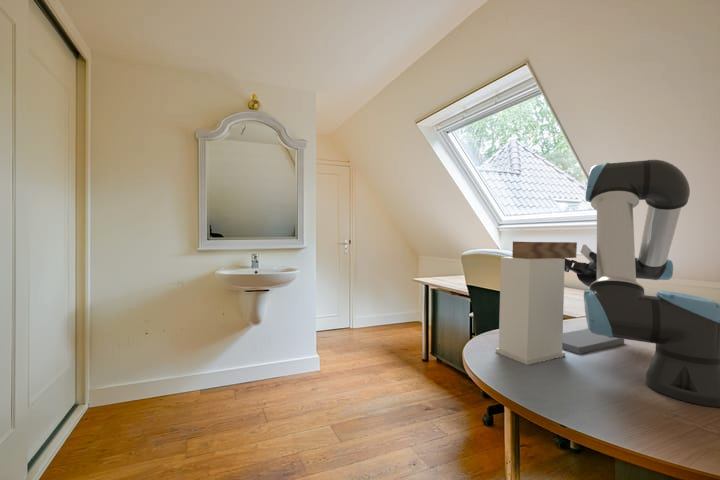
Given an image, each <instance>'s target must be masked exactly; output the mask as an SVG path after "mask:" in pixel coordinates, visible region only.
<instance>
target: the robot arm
mask: <svg viewBox="0 0 720 480" xmlns="http://www.w3.org/2000/svg"><path fill="white" fill-rule="evenodd" d="M585 189H586V190H585V201H586V202H589V203H590V206H591V208H592V209H594V210H595V211H596V252H594V251H593V250H592V249H591V248H589V246H588V245H587V244H582V247H581V249H580V253H581V255H583V256H584V257H585V258H586V260H588V261H589V262H588V263H587V262H581V261H580V262H579V261H576V260H575V259H569V258H561V259H565V269H564V272H566V273H569V272H570V271H572V272H573V273H575V274H576V277H577V279H578V280H579V281H580V282H581V283H582V284H584V285H585V287H586V288H588V289H585V290H584V291H583V304H584V312H585V313H584V314H585V318H586V323H587V324H586V325H587V329H589V330H590V331H591V332H592V333H594V334H597V335H602V336H607V337H609V338H612V337H614V338H621V339H624V340H628V341H629V340H630V341H637V342H644V343H648V344H649V343H650V344H655V352H654V356H653V357H652V359H651V361H650V363H649V366H648V369H647V370H646V371H645V376H644V377H645V378H644V379H645V380H644V382H645V385H647V386H648V387H649V388H650V389H652V390H654V391H655V392H657V393H661V394H662V395H664V396H667V397H671V398H673V399H676V400H680V401H683V402H686V403H689V404H690V403H691V404H695V405H700V406H707V407H712V408H713V407H714V408H720V302H718V301H716V300H714V299H708V298H707V297H701V296H697V295H696V296H695V295H693V294H686V293H681V292H676V291H667V290H658V291H657V292H656V293H655V295H647V294H646V295H645V288H644V286H642V285H641V284H640V283H638V282H637V279H640V280H641V279H642V280H652V281H669V280H671V279H672V277H673V273H674V264H673V261H672V260H671V259H670V258H668V257H669V254H670V249H671V245H672V244H673V243H672V242H673V239H674V235H675V232H676V229H677V224H678V221H679V217H680V214H681V210H682V208H684V207H685V206H686V205H687V204H688V202H689V198H690V194H691V193H690V191H691V189H690V184H689V181H688V179H687V177H686V176H685V174H684V172H682V170H681V169H679V167H677V166H676V165H674V164H672V163H670V162H668V161H665V160H660V159H647V160H635V161H634V160H633V161H622V162H612V163H610V162H606V163H600V164H595V165H593V166H592V167H591V168H590V170H589V174H588V179H587V183H586V188H585ZM640 201H645V202H644V203H646V205H647V209H646V210H647V211H646V215H645V216H646V217H645V220H644V227H643V231H642V235H641V237H642V238H641V243H640V247H639V248H640V249H639V253H638V257H636V255H635V254H636V250H635V249H636V248H635V228H634V227H635V225H634V208H635V207H637V206H638V205H639V204H640Z"/></svg>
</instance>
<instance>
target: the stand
mask: <svg viewBox="0 0 720 480" xmlns="http://www.w3.org/2000/svg"><path fill="white" fill-rule="evenodd" d="M564 269H565V259H561V258H542V259H523V258H512V256H501V257H500V281H499V282H500V283H499V284H500V285H499V287H500V289H499V290H500V291H499V317H498V318H499V319H498V320H499V321H498V323H499V324H498V325H499V326H498V330H499V331H498V347H496V348H495V353H497V354H498V355H501V356H503V357H505V358H509V359H511V360H514V361H517V362H519V363H522V364H523V365H526V366H529V365H533V363H534V364H538V363H541V361H543V362H545V361H546V360H547V361H551V360H554V358H556V359H559V357H560V358H563V356H564V357H566V352H565V351H563V349H562V338H563V333H564V332H563V330H564V326H563V325H564V303H565V301H564V300H565V297H564V295H565V271H564ZM550 359H551V360H550ZM547 361H546V362H547ZM537 362H538V363H537Z"/></svg>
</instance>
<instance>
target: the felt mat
mask: <svg viewBox="0 0 720 480" xmlns="http://www.w3.org/2000/svg"><path fill="white" fill-rule="evenodd" d="M622 344H625V339H621V338H614V337H612V338H609V337H607V336H602V335H597V334H594V333H592V332H591V331H590V330H589V328H584V329H579V330H574V331H573V330H572V331H567V332H563V338H562V348H563V349H562V350H565V349H566V350H567V351H569V352H571V353H572V352H573V353H576V354H579V353H580V354H584V353H588V352H592V351H593V352H594V351H598V350H601V349H605V348H609V347H615V346H617V345H619V346H620V345H622ZM580 354H579V355H580Z"/></svg>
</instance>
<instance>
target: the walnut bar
mask: <svg viewBox="0 0 720 480" xmlns="http://www.w3.org/2000/svg"><path fill="white" fill-rule="evenodd" d="M577 245H578V243H577V242H576V241H575V242H570V241H517V240H516V241H515V240H514V241H512V253H511V254H512V256H511V257H512V258H523V259H542V258H566V259H574V258H575V259H577V251H578V250H577V249H578V246H577Z"/></svg>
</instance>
